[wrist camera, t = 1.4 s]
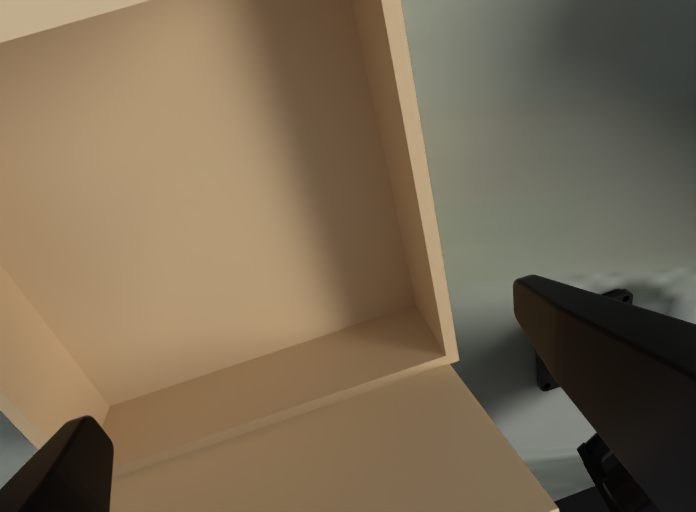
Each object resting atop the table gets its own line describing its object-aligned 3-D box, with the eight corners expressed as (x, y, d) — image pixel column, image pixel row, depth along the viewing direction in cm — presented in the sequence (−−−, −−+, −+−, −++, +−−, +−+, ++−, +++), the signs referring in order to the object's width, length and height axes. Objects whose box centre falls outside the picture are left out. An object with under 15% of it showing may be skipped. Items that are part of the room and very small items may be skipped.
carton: (424, 304, 26) (459, 360, 21) (107, 408, 25) (77, 490, 20) (344, -94, 16) (377, -137, 12) (-171, 50, 15) (-337, 59, 11)
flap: (449, 364, 21) (451, 372, 21) (87, 486, 20) (92, 495, 21) (558, 508, 13) (561, 521, 13) (-65, 734, 12) (-55, 746, 12)
